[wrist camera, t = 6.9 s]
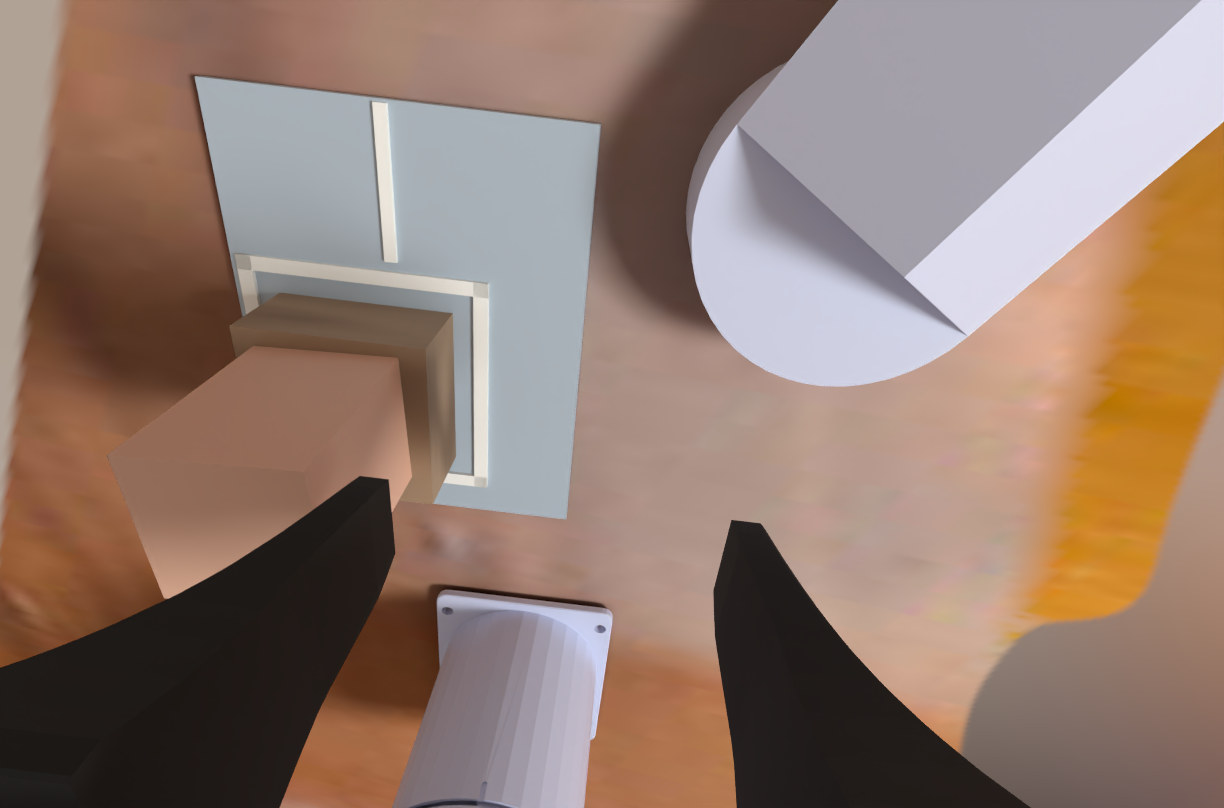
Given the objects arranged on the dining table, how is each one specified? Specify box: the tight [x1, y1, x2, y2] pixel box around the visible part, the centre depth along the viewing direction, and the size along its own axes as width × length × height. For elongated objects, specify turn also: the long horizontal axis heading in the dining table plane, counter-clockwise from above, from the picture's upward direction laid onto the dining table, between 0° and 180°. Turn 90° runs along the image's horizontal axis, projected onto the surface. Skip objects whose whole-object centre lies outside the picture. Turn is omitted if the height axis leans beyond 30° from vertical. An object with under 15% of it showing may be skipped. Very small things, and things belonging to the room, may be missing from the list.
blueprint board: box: [195, 76, 601, 519], centre depth 22 cm, size 15×12×1 cm
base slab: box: [229, 293, 456, 505], centre depth 22 cm, size 6×6×3 cm
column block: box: [107, 346, 412, 599], centre depth 18 cm, size 4×4×6 cm
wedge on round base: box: [686, 0, 1224, 386], centre depth 16 cm, size 9×7×13 cm
